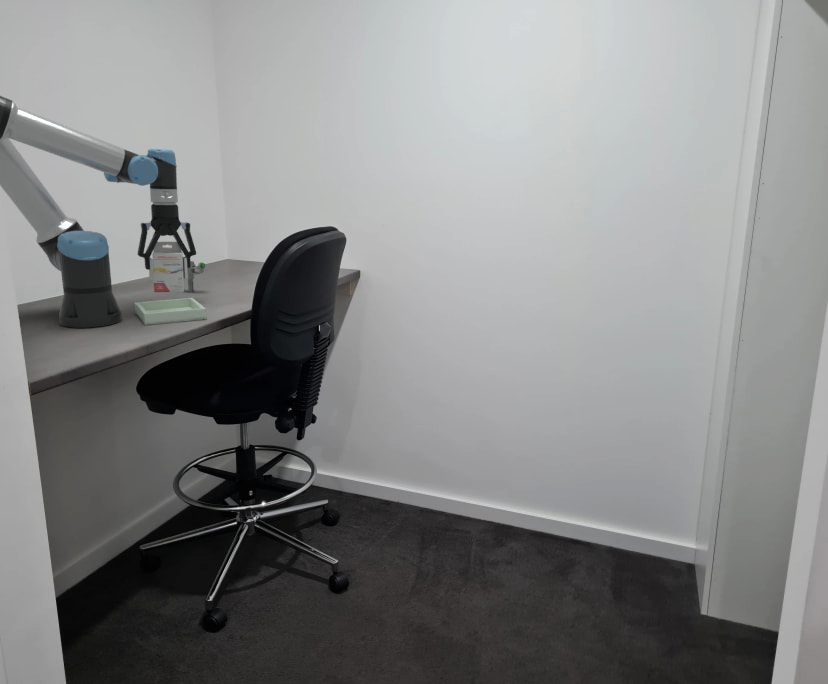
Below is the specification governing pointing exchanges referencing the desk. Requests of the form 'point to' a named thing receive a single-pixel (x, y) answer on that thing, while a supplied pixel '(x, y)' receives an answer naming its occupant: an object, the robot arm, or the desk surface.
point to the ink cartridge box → (168, 268)
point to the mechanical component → (192, 271)
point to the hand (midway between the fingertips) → (168, 279)
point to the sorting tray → (170, 311)
